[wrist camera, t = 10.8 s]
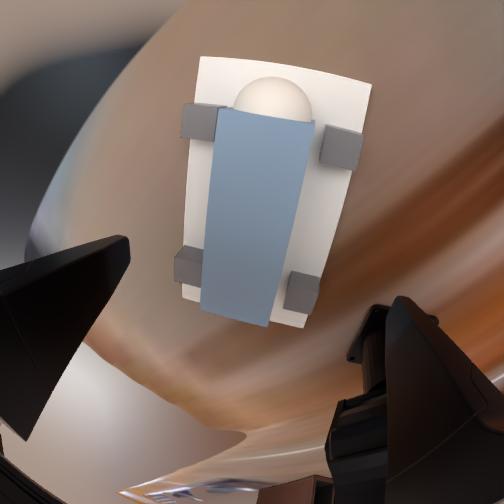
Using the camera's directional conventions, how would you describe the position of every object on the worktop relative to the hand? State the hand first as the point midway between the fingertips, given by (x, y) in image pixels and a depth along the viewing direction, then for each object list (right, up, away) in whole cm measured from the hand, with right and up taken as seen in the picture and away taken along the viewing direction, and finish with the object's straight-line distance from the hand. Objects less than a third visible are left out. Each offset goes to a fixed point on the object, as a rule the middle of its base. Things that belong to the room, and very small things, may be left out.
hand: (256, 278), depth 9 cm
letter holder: (+10, -48, +38) cm, 62 cm away
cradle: (+1, +4, +10) cm, 11 cm away
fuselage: (0, +4, +10) cm, 10 cm away
